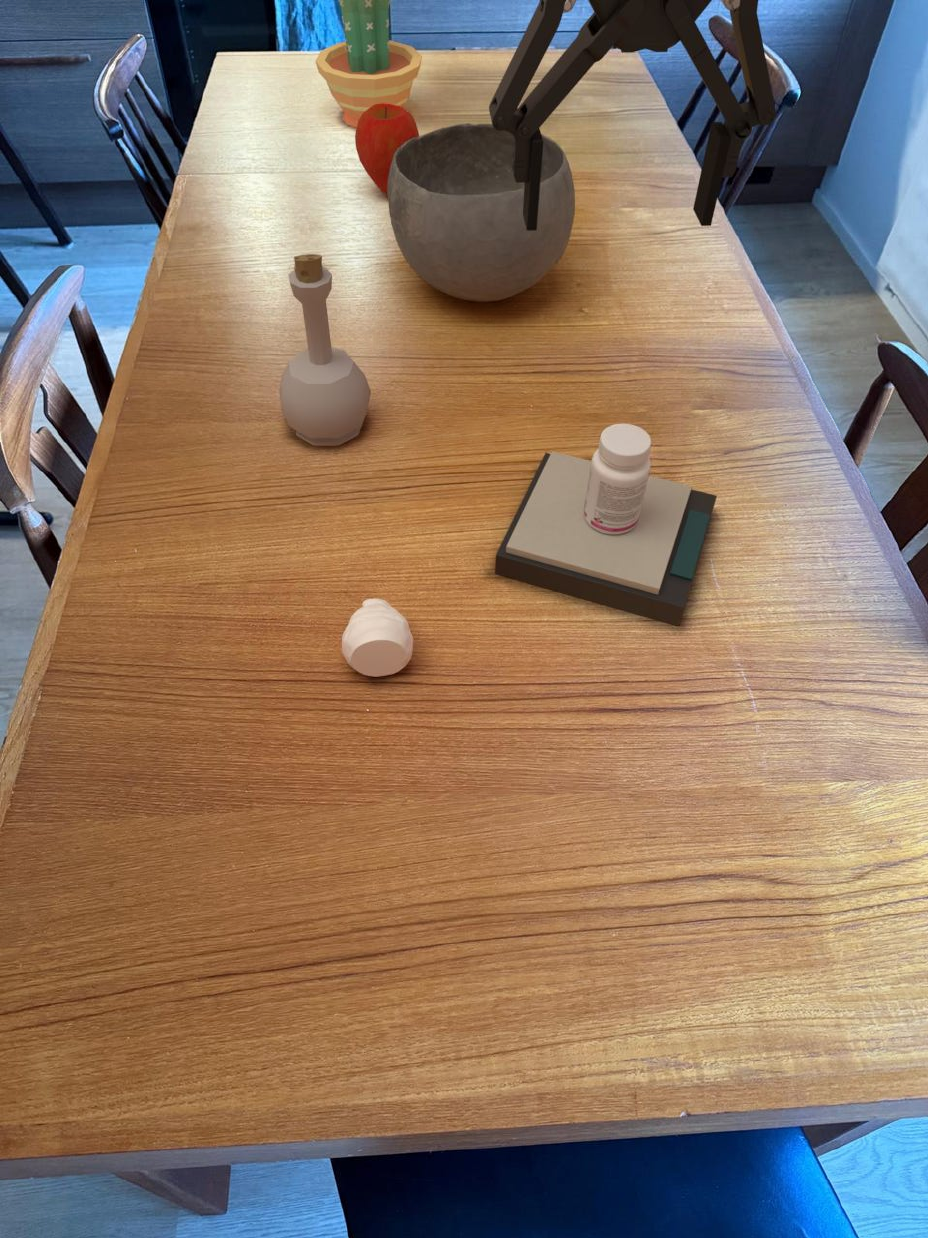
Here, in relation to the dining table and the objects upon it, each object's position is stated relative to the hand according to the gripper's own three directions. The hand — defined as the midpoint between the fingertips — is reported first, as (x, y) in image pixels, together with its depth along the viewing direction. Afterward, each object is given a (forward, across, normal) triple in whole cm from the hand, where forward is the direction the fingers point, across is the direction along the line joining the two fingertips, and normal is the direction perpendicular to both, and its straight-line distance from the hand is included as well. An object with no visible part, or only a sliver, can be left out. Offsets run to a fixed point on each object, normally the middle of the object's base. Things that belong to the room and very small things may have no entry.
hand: (616, 220), depth 70 cm
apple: (+23, +18, -54) cm, 61 cm away
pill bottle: (+20, 0, +13) cm, 24 cm away
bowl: (+23, +7, -30) cm, 39 cm away
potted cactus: (+23, +20, -78) cm, 83 cm away
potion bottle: (+23, +25, -5) cm, 34 cm away
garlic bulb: (+23, +20, +23) cm, 39 cm away
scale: (+23, 0, +13) cm, 26 cm away
